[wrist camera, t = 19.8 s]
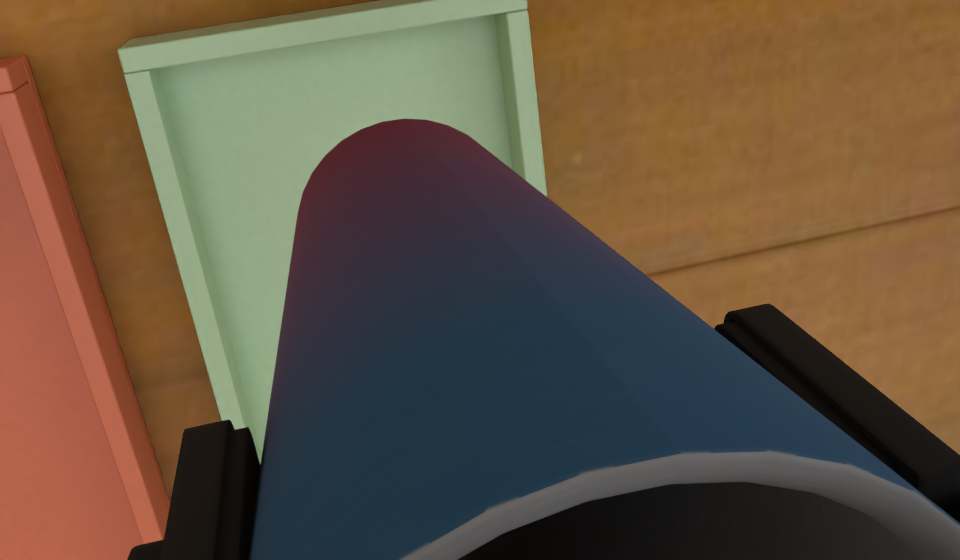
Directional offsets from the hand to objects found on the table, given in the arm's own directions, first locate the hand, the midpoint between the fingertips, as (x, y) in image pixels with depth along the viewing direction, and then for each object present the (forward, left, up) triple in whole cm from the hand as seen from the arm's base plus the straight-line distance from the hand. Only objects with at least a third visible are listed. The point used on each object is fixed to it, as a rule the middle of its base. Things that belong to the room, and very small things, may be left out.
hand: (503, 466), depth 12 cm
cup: (0, 0, -10) cm, 10 cm away
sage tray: (+10, -1, -24) cm, 26 cm away
